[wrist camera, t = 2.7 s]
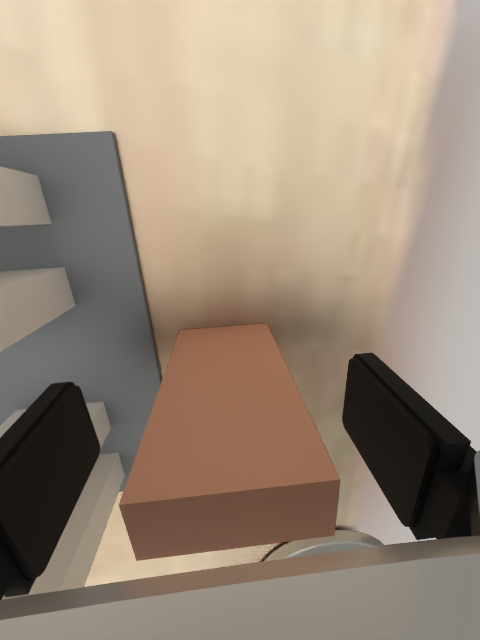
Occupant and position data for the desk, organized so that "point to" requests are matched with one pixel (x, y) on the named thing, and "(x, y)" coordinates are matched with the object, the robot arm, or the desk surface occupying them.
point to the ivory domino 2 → (31, 301)
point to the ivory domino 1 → (21, 199)
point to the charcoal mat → (83, 287)
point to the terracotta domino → (228, 452)
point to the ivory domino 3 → (83, 529)
